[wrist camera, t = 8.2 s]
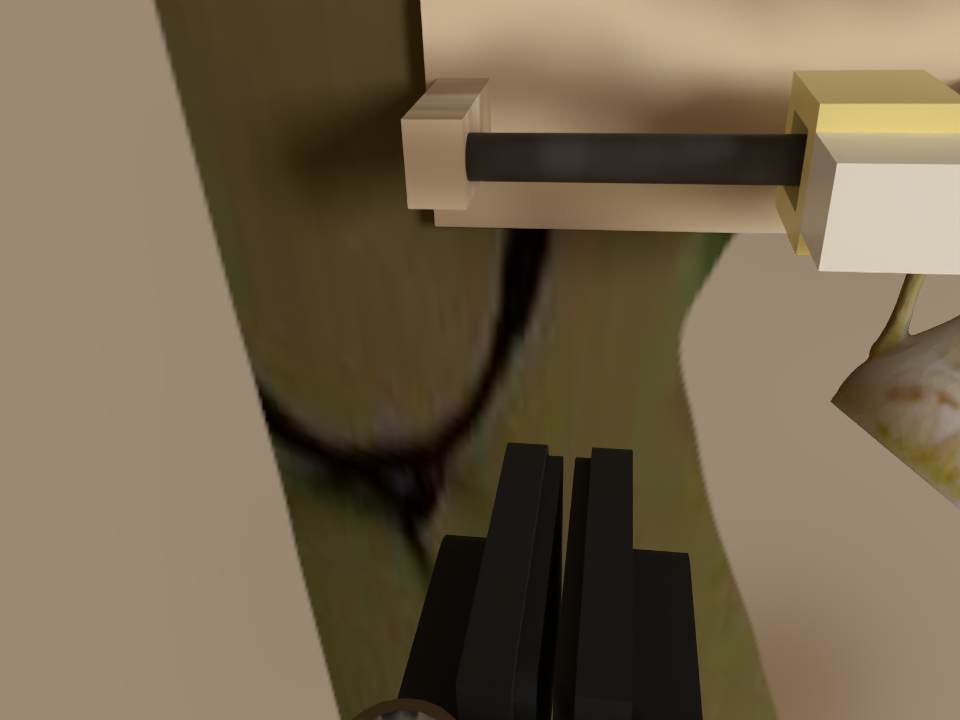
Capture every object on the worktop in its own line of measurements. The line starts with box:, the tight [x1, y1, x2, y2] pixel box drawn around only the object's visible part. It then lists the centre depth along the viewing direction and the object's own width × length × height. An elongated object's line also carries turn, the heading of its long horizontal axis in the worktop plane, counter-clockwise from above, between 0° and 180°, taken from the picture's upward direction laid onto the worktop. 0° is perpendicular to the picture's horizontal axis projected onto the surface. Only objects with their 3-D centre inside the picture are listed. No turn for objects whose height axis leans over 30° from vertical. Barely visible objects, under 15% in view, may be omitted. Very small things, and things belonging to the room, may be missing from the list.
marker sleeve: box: [775, 70, 960, 275], centre depth 26 cm, size 5×4×8 cm
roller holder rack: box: [401, 0, 960, 234], centre depth 30 cm, size 9×22×7 cm, turn 92°
